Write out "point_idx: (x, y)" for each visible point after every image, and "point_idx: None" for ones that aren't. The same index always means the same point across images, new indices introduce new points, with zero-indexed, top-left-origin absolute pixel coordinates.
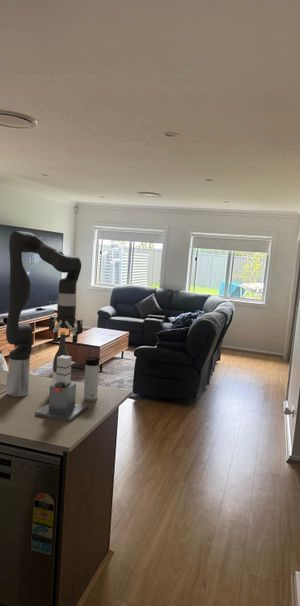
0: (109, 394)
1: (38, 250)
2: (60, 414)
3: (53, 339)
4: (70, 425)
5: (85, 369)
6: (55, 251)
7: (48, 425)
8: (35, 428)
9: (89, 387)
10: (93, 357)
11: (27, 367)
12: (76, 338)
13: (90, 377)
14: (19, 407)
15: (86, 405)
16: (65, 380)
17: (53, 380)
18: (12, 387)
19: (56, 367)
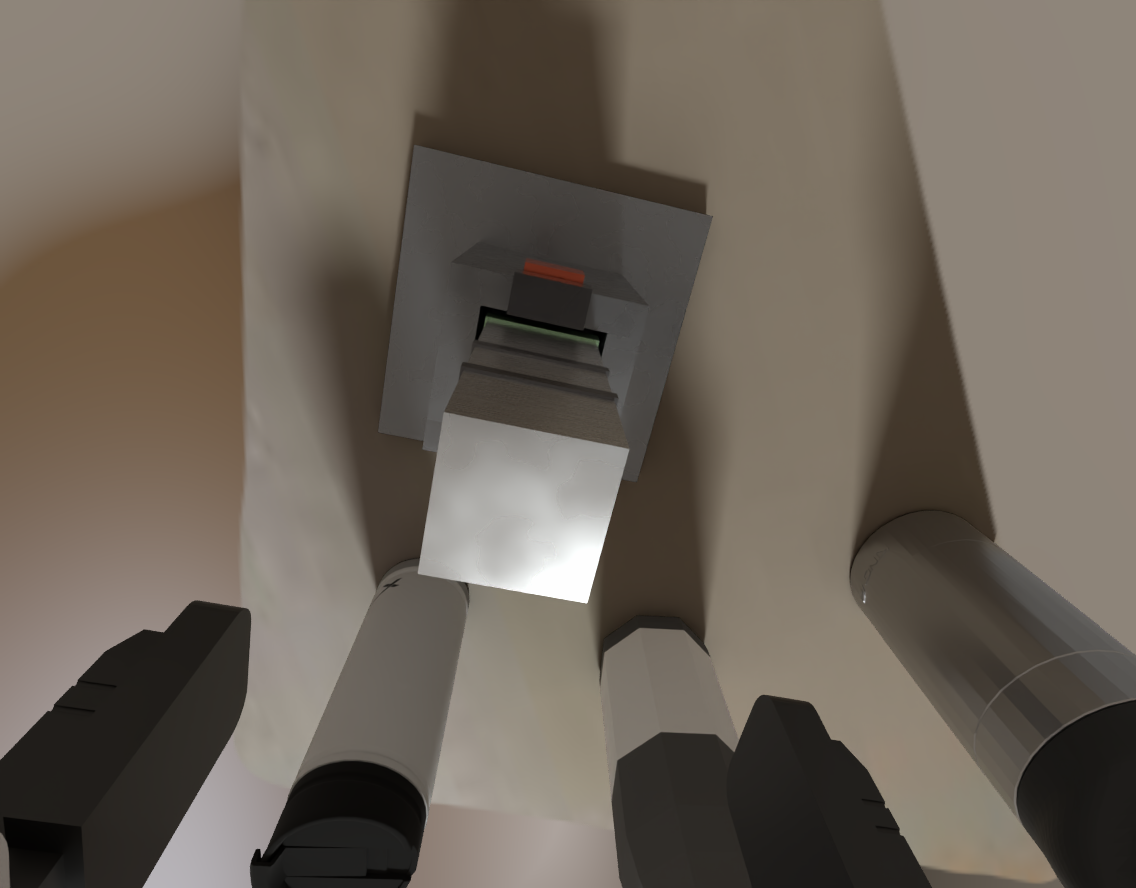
0: None
1: None
2: (511, 209)
3: (842, 751)
4: (394, 81)
5: (424, 743)
6: None
7: (553, 39)
8: None
9: (401, 617)
10: None
11: (975, 694)
12: (31, 761)
13: (376, 673)
14: (852, 336)
15: (386, 433)
16: (483, 331)
17: (716, 696)
18: (986, 544)
19: (719, 770)
